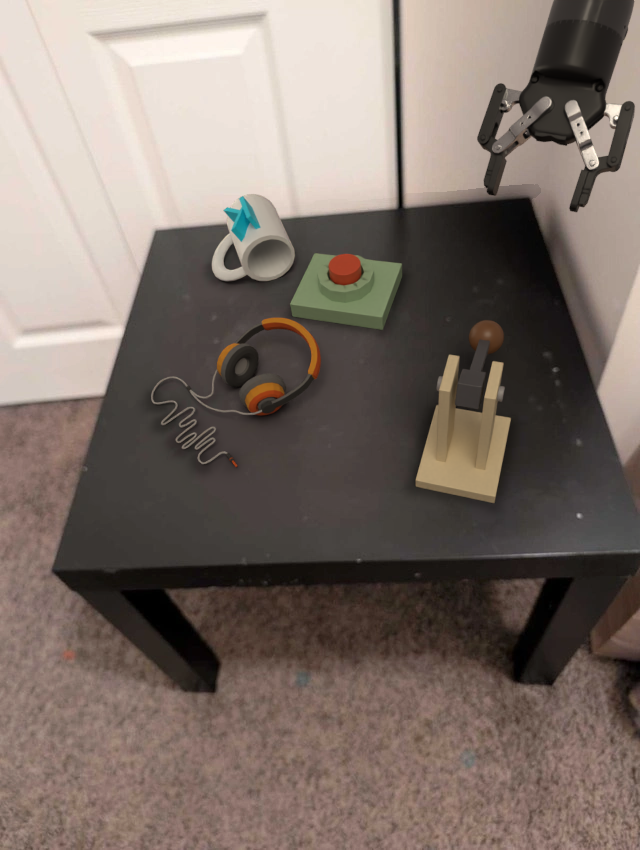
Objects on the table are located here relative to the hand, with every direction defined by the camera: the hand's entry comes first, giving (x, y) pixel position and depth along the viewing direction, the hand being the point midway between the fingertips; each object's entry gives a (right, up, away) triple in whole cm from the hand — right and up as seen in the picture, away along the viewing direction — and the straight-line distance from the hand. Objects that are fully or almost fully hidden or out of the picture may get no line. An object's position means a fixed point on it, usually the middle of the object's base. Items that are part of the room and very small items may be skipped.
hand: (531, 202), depth 69 cm
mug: (-32, 0, +25) cm, 41 cm away
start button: (-19, -4, +15) cm, 24 cm away
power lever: (-6, -18, -2) cm, 19 cm away
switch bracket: (-7, -26, +2) cm, 27 cm away
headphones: (-31, -20, +10) cm, 38 cm away
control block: (-18, -6, +18) cm, 26 cm away
